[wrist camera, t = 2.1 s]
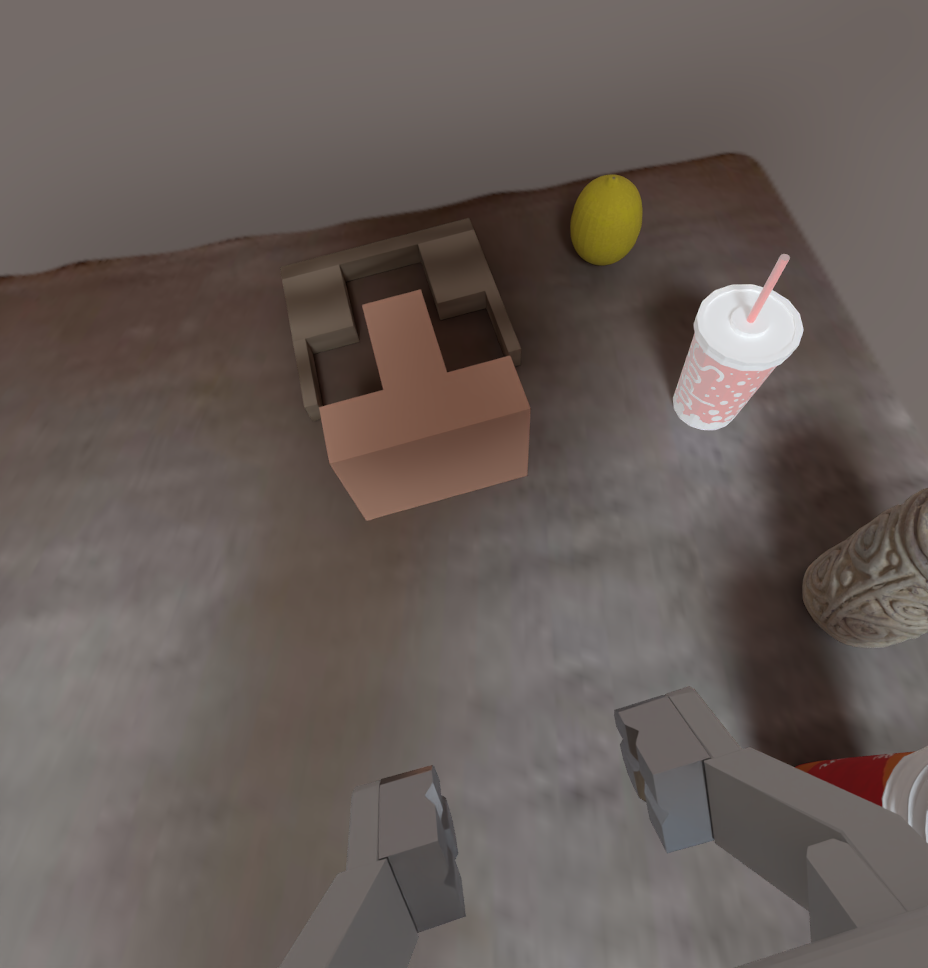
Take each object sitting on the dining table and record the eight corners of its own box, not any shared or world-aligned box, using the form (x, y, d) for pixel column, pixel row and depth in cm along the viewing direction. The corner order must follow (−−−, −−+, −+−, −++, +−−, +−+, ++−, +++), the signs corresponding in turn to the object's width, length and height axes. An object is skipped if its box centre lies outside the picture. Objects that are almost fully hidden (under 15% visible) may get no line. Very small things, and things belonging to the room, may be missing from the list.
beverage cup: (652, 377, 44) (708, 226, 31) (731, 364, 44) (819, 207, 31) (676, 445, 41) (747, 311, 29) (760, 432, 41) (869, 291, 28)
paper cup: (930, 820, 31) (1222, 870, 18) (853, 943, 29) (1120, 1096, 16) (797, 710, 33) (970, 686, 21) (719, 816, 31) (857, 861, 19)
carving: (936, 615, 35) (1125, 554, 24) (838, 676, 34) (991, 641, 23) (859, 530, 38) (999, 441, 27) (766, 584, 37) (872, 515, 26)
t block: (527, 475, 41) (530, 408, 33) (366, 520, 41) (329, 463, 33) (485, 358, 46) (479, 274, 38) (340, 397, 45) (302, 320, 37)
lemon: (623, 291, 48) (642, 210, 40) (558, 278, 49) (566, 196, 42) (638, 244, 50) (659, 159, 42) (576, 233, 51) (586, 147, 44)
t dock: (520, 364, 45) (521, 348, 43) (312, 421, 45) (304, 407, 43) (470, 236, 52) (469, 217, 50) (288, 284, 51) (279, 267, 49)
